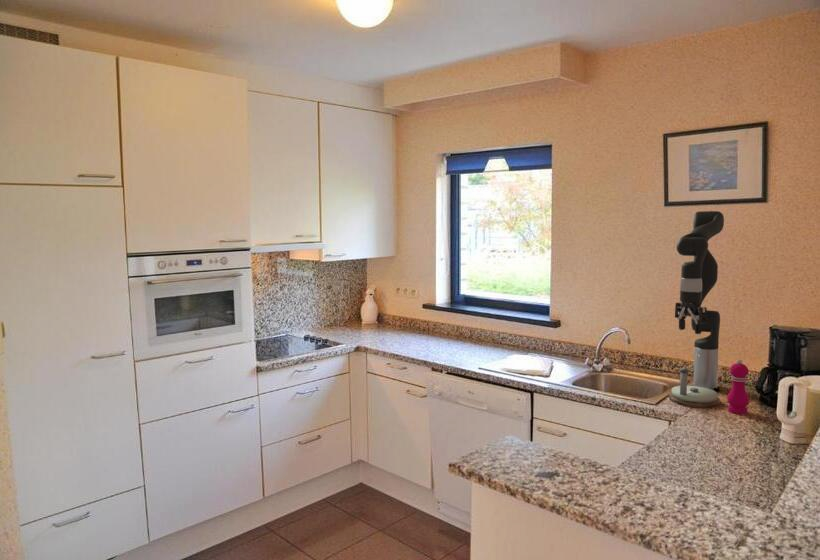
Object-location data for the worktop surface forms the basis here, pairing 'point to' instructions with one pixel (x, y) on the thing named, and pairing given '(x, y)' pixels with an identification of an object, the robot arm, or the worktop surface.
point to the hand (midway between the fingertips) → (689, 331)
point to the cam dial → (692, 391)
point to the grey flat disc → (694, 403)
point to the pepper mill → (738, 389)
